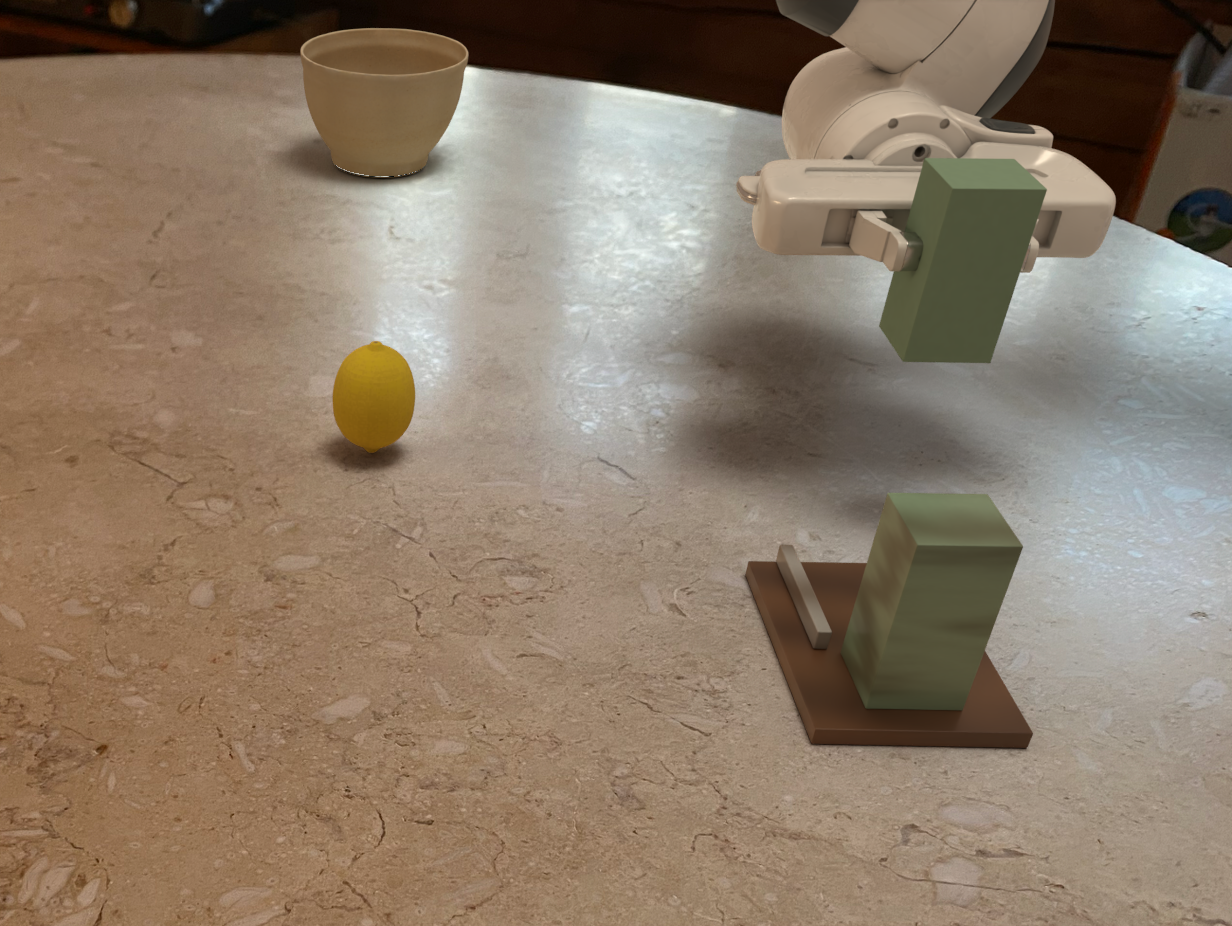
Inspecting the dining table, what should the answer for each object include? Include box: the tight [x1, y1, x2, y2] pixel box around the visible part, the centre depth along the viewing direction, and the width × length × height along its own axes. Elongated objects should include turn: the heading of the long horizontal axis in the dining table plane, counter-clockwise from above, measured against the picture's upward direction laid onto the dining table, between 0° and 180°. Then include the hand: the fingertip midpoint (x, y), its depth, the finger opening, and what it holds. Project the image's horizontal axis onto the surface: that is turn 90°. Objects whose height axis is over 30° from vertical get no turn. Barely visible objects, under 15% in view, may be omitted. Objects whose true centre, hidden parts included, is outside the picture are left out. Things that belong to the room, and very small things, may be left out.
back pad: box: [878, 158, 1047, 364], centre depth 83 cm, size 5×5×10 cm
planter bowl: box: [300, 27, 469, 179], centre depth 143 cm, size 16×16×11 cm
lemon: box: [332, 340, 416, 454], centre depth 97 cm, size 6×6×8 cm
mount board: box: [744, 492, 1034, 749], centre depth 78 cm, size 16×11×11 cm
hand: (966, 259), depth 82 cm, fingers closed on back pad, 5 cm apart
